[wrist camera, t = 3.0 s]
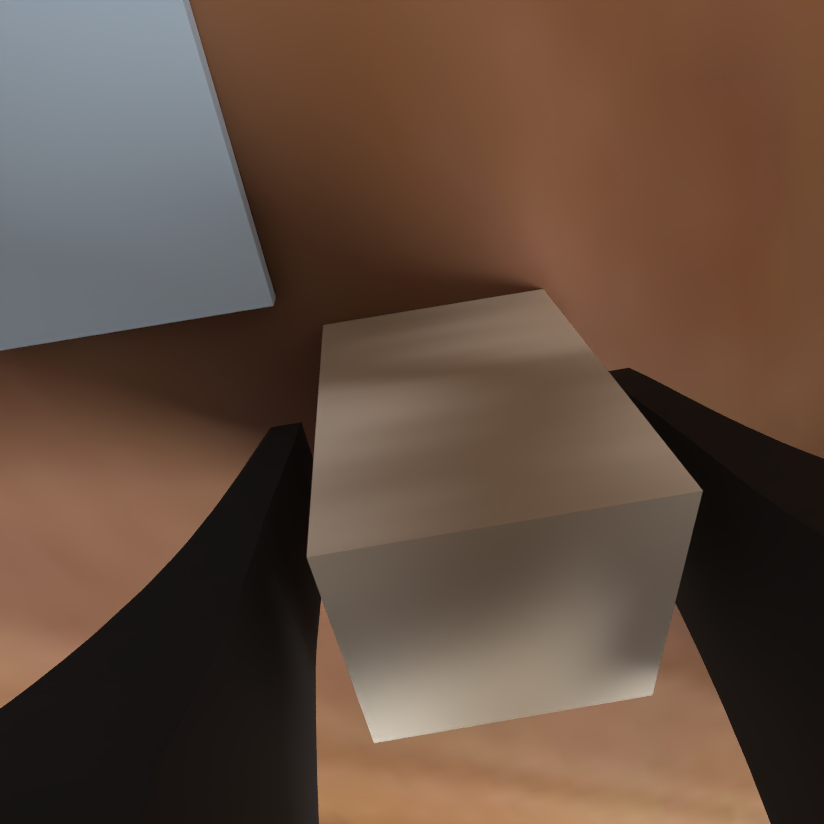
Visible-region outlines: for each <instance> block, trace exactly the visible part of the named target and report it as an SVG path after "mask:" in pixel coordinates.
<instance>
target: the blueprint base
mask: <svg viewBox="0 0 824 824" xmlns="http://www.w3.org/2000/svg"><path fill="white" fill-rule="evenodd" d="M275 299H276V296H275V293H274V290H273V286H272V283H271V279H270V276H269V272H268V269H267V266H266V262H265V259H264V255H263V252H262V249H261V245H260V242H259V238H258V235H257V231H256V228H255V225H254V221H253V218H252V214H251V211H250V207H249V204H248V201H247V197H246V194H245V190H244V187H243V184H242V180H241V177H240V173H239V170H238V166H237V163H236V160H235V156H234V153H233V149H232V146H231V142H230V139H229V136H228V132H227V129H226V125H225V122H224V119H223V115H222V112H221V108H220V105H219V101H218V98H217V95H216V91H215V88H214V84H213V81H212V77H211V74H210V71H209V67H208V64H207V60H206V57H205V54H204V50H203V47H202V43H201V40H200V36H199V33H198V30H197V26H196V23H195V19H194V16H193V12H192V9H191V6H190V2H189V0H0V351H1V350H7V349H13V348H19V347H25V346H31V345H38V344H44V343H50V342H56V341H62V340H68V339H74V338H80V337H86V336H92V335H99V334H105V333H111V332H117V331H123V330H129V329H135V328H141V327H147V326H154V325H160V324H166V323H172V322H178V321H184V320H190V319H196V318H202V317H208V316H215V315H221V314H227V313H233V312H239V311H245V310H251V309H257V308H263V307H270V306H274V302H275Z"/></svg>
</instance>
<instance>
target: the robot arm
mask: <svg viewBox="0 0 824 824" xmlns="http://www.w3.org/2000/svg"><path fill="white" fill-rule="evenodd" d="M608 372H609V373H610V374H611V375H612V377H613V378H614V379H615V380H616V382H617V383H618V384H619V385H620V387H621V388H622V389H623V390H624V392H625V393H626V394H627V396H628V397H629V398H630V399H631V401H632V402H633V403H634V404H635V406H636V407H637V408H638V409H639V411H640V412H641V413H642V414H643V416H644V417H645V418H646V420H647V421H648V422H649V423H650V425H651V426H652V427H653V428H654V430H655V431H656V432H657V433H658V435H659V436H660V437H661V438H662V440H663V441H664V442H665V444H666V445H667V446H668V447H669V449H670V450H671V451H672V452H673V454H674V455H675V456H676V457H677V459H678V460H679V461H680V462H681V464H682V465H683V466H684V468H685V469H686V470H687V471H688V473H689V474H690V475H691V476H692V478H693V479H694V480H695V481H696V483H697V484H698V485H699V486H700V488H701V489H702V490H703V492H702V496H701V500H700V504H699V508H698V512H697V516H696V520H695V524H694V528H693V532H692V536H691V540H690V544H689V548H688V552H687V557H686V561H685V565H684V569H683V573H682V577H681V581H680V585H679V589H678V593H677V597H676V601H675V603H676V605H677V607H678V609H679V611H680V613H681V615H682V617H683V619H684V621H685V623H686V626H687V628H688V630H689V632H690V634H691V636H692V638H693V640H694V642H695V644H696V646H697V649H698V651H699V653H700V655H701V657H702V659H703V662H704V664H705V666H706V668H707V671H708V673H709V675H710V677H711V679H712V682H713V684H714V686H715V688H716V691H717V693H718V695H719V697H720V699H721V702H722V704H723V706H724V709H725V711H726V713H727V716H728V718H729V721H730V723H731V725H732V728H733V730H734V733H735V735H736V737H737V740H738V742H739V744H740V747H741V749H742V752H743V754H744V756H745V759H746V761H747V764H748V766H749V769H750V771H751V774H752V776H753V779H754V781H755V784H756V787H757V789H758V792H759V794H760V797H761V799H762V802H763V805H764V807H765V810H766V812H767V815H768V818H769V820H770V823H771V824H824V459H823V458H820V457H818V456H815V455H812V454H810V453H807V452H804V451H802V450H799V449H797V448H794V447H792V446H789V445H787V444H785V443H782V442H780V441H778V440H775V439H773V438H771V437H769V436H766V435H764V434H762V433H760V432H757V431H755V430H753V429H751V428H748V427H746V426H744V425H742V424H740V423H738V422H736V421H734V420H732V419H729V418H727V417H725V416H723V415H721V414H719V413H717V412H715V411H713V410H711V409H709V408H707V407H705V406H703V405H701V404H699V403H697V402H696V401H694V400H692V399H690V398H688V397H686V396H684V395H682V394H680V393H678V392H676V391H674V390H673V389H671V388H669V387H667V386H665V385H663V384H661V383H659V382H657V381H655V380H653V379H651V378H649V377H647V376H645V375H643V374H641V373H639V372H637V371H635V370H632V369H630V368H625V369H619V370H613V371H608ZM312 474H313V458H312V455H311V452H310V448H309V445H308V442H307V439H306V435H305V432H304V429H303V425H302V422H301V423H295V424H289V425H283V426H277V427H271V428H270V430H269V431H268V433H267V434H266V435H265V437H264V438H263V440H262V441H261V443H260V444H259V446H258V447H257V448H256V450H255V451H254V453H253V454H252V456H251V457H250V459H249V460H248V462H247V463H246V465H245V466H244V468H243V469H242V471H241V472H240V474H239V475H238V477H237V478H236V479H235V481H234V482H233V484H232V485H231V486H230V488H229V489H228V490H227V492H226V493H225V495H224V496H223V497H222V499H221V500H220V502H219V503H218V504H217V506H216V507H215V508H214V510H213V511H212V512H211V513H210V515H209V516H208V517H207V518H206V520H205V521H204V522H203V523H202V525H201V526H200V527H199V528H198V530H197V531H196V532H195V533H194V535H193V536H192V537H191V538H190V540H189V541H188V542H187V543H186V544H185V545H184V547H183V548H182V549H181V550H180V551H179V552H178V553H177V554H176V555H175V557H174V558H173V559H172V560H171V561H170V562H169V563H168V564H167V565H166V566H165V567H164V568H163V569H162V570H161V571H160V572H159V573H158V574H157V576H156V577H155V578H154V579H153V580H152V581H151V582H150V583H149V584H148V585H147V586H146V587H145V588H144V589H143V590H142V591H141V592H140V593H138V594H137V595H136V596H135V597H134V598H133V599H132V600H131V601H130V602H129V603H128V604H127V605H125V606H124V607H123V608H122V609H121V610H120V611H119V612H118V613H117V614H116V615H115V616H114V617H112V618H111V619H110V620H109V621H108V622H107V623H106V624H105V625H104V626H103V627H102V628H101V629H99V630H98V631H97V632H96V633H95V634H94V635H93V636H92V637H90V638H89V639H88V640H87V641H86V642H84V643H83V644H82V645H81V646H80V647H78V648H77V649H76V650H75V651H74V652H72V653H71V654H70V655H69V656H68V657H66V658H65V659H64V660H63V661H62V662H60V663H59V664H58V665H57V666H55V667H54V668H53V669H52V670H50V671H49V672H48V673H46V674H45V675H44V676H43V677H41V678H40V679H39V680H38V681H36V682H35V683H34V684H33V685H31V686H30V687H29V688H27V689H26V690H25V691H23V692H22V693H21V694H19V695H18V696H17V697H15V698H14V699H13V700H11V701H10V702H9V703H7V704H6V705H5V706H3V707H2V708H0V824H319V817H318V789H317V750H316V649H317V636H318V625H319V615H320V604H321V596H320V593H319V590H318V587H317V585H316V582H315V579H314V576H313V574H312V571H311V568H310V565H309V563H308V560H307V544H308V530H309V516H310V502H311V488H312Z"/></svg>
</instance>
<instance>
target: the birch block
mask: <svg viewBox="0 0 824 824" xmlns="http://www.w3.org/2000/svg"><path fill="white" fill-rule="evenodd" d="M702 492H703V490H702V489H701V488H700V486H699V485H698V484H697V483H696V481H695V480H694V479H693V478H692V476H691V475H690V474H689V473H688V471H687V470H686V469H685V468H684V466H683V465H682V464H681V462H680V461H679V460H678V459H677V457H676V456H675V455H674V454H673V452H672V451H671V450H670V449H669V447H668V446H667V445H666V444H665V442H664V441H663V440H662V438H661V437H660V436H659V435H658V433H657V432H656V431H655V430H654V428H653V427H652V426H651V425H650V423H649V422H648V421H647V420H646V418H645V417H644V416H643V414H642V413H641V412H640V411H639V409H638V408H637V407H636V406H635V404H634V403H633V402H632V401H631V399H630V398H629V397H628V396H627V394H626V393H625V392H624V390H623V389H622V388H621V387H620V385H619V384H618V383H617V382H616V380H615V379H614V378H613V377H612V375H611V374H610V373H609V372H608V370H607V369H606V368H605V366H604V365H603V364H602V363H601V361H600V360H599V359H598V358H597V356H596V355H595V354H594V353H593V351H592V350H591V349H590V348H589V346H588V345H587V344H586V342H585V341H584V340H583V339H582V337H581V336H580V335H579V334H578V332H577V331H576V330H575V329H574V327H573V326H572V325H571V324H570V322H569V321H568V320H567V318H566V317H565V316H564V315H563V313H562V312H561V311H560V310H559V308H558V307H557V306H556V305H555V303H554V302H553V301H552V300H551V298H550V297H549V296H548V294H547V293H546V292H545V291H544V289H540V290H534V291H528V292H521V293H515V294H509V295H503V296H497V297H491V298H485V299H479V300H473V301H466V302H460V303H454V304H448V305H442V306H436V307H430V308H424V309H418V310H411V311H405V312H399V313H393V314H387V315H381V316H375V317H369V318H363V319H356V320H350V321H344V322H338V323H332V324H326V325H323V334H322V348H321V362H320V376H319V390H318V404H317V418H316V432H315V446H314V460H313V474H312V488H311V502H310V516H309V530H308V544H307V560H308V563H309V565H310V568H311V571H312V574H313V576H314V579H315V582H316V585H317V587H318V590H319V593H320V596H321V598H322V601H323V604H324V607H325V609H326V612H327V615H328V618H329V620H330V623H331V626H332V629H333V631H334V634H335V637H336V640H337V642H338V645H339V648H340V651H341V653H342V656H343V659H344V662H345V664H346V667H347V670H348V673H349V675H350V678H351V681H352V684H353V686H354V689H355V692H356V695H357V697H358V700H359V703H360V706H361V708H362V711H363V714H364V717H365V719H366V722H367V725H368V728H369V730H370V733H371V736H372V739H373V741H374V743H377V742H383V741H389V740H395V739H401V738H406V737H412V736H418V735H424V734H430V733H435V732H441V731H447V730H453V729H459V728H464V727H470V726H476V725H482V724H488V723H493V722H499V721H505V720H511V719H517V718H522V717H528V716H534V715H540V714H546V713H551V712H557V711H563V710H569V709H575V708H580V707H586V706H592V705H598V704H604V703H609V702H615V701H621V700H627V699H633V698H638V697H644V696H650V695H652V694H653V690H654V686H655V682H656V678H657V674H658V670H659V666H660V662H661V658H662V653H663V649H664V645H665V641H666V637H667V633H668V629H669V625H670V621H671V617H672V613H673V609H674V605H675V601H676V597H677V593H678V589H679V585H680V581H681V577H682V573H683V569H684V565H685V561H686V557H687V552H688V548H689V544H690V540H691V536H692V532H693V528H694V524H695V520H696V516H697V512H698V508H699V504H700V500H701V496H702Z"/></svg>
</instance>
